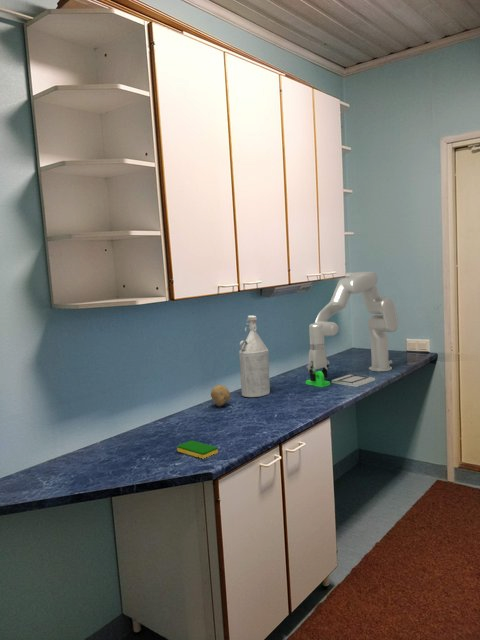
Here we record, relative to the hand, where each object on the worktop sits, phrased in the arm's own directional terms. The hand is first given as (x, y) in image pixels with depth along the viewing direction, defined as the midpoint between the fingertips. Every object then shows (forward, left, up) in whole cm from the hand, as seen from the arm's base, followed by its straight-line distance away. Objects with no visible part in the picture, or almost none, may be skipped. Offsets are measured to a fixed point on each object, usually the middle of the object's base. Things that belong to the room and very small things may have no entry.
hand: (319, 379), depth 267 cm
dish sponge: (+102, +29, -3) cm, 106 cm away
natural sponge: (+58, -11, -3) cm, 59 cm away
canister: (+34, -13, -3) cm, 36 cm away
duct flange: (-13, +12, -3) cm, 18 cm away
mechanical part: (+1, 0, -3) cm, 3 cm away
